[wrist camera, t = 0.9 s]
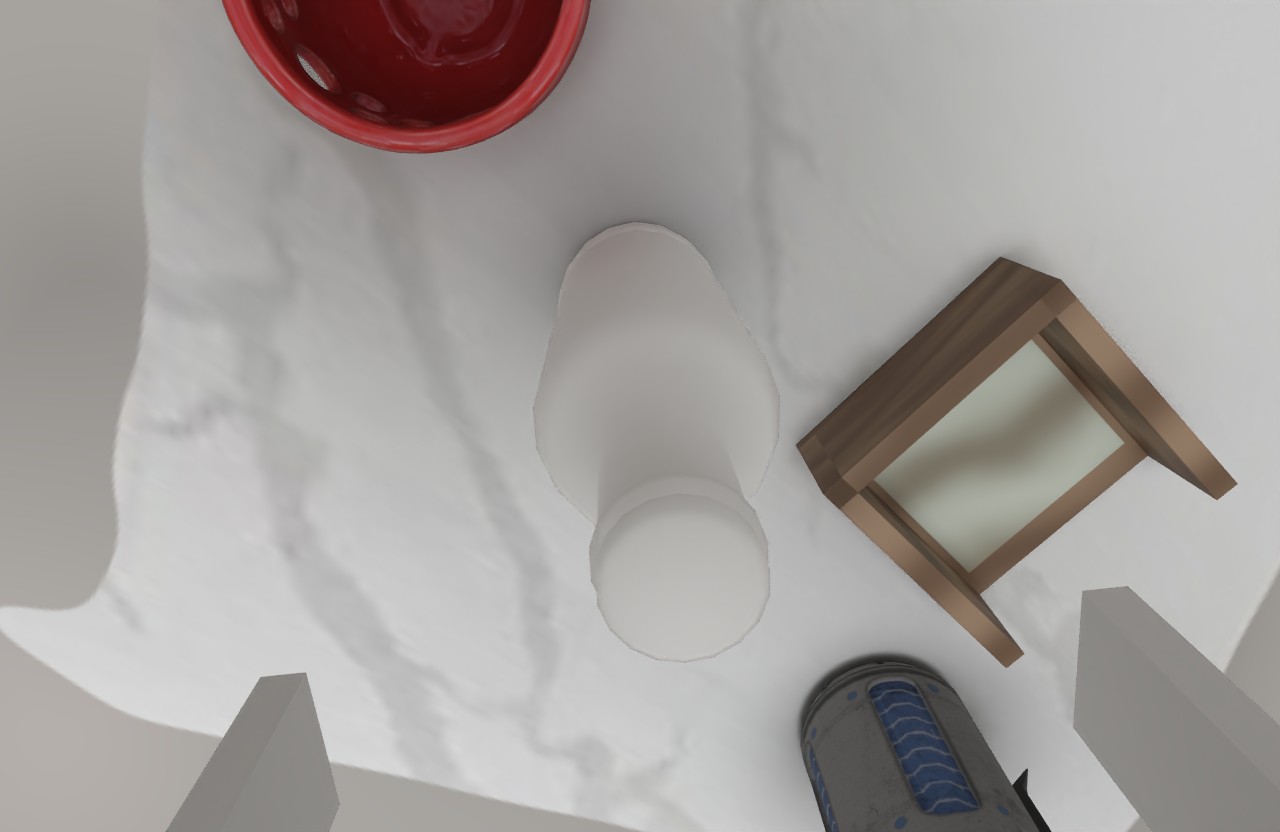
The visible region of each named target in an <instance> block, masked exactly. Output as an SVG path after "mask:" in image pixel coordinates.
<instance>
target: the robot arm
mask: <svg viewBox="0 0 1280 832" xmlns="http://www.w3.org/2000/svg"><path fill="white" fill-rule="evenodd" d="M1073 728H1074V729H1075V730H1076V732H1077V733H1078V734H1079V736H1080V737H1081V738H1082V740H1083V741H1084V742H1085V743H1086V745H1087V746H1088V747H1089V749H1090V750H1091V751H1092V753H1093V754H1094V755H1095V757H1096V758H1097V759H1098V761H1099V762H1100V763H1101V765H1102V766H1103V767H1104V769H1105V770H1106V771H1107V773H1108V774H1109V775H1110V777H1111V778H1112V779H1113V781H1114V782H1115V783H1116V785H1117V786H1118V787H1119V788H1120V790H1121V791H1122V792H1123V794H1124V795H1125V796H1126V798H1127V799H1128V800H1129V802H1130V803H1131V804H1132V806H1133V807H1134V808H1135V810H1136V811H1137V812H1138V814H1139V815H1140V816H1141V818H1142V819H1143V820H1144V822H1145V823H1146V824H1147V826H1148V827H1149V828H1150V830H1151V831H1152V832H1280V725H1279V724H1278V723H1277V722H1276V721H1275V720H1273V719H1272V718H1271V717H1270V716H1269V715H1268V714H1267V713H1266V712H1265V711H1264V710H1262V708H1260V707H1259V706H1258V705H1257V704H1256V703H1255V702H1254V701H1253V700H1252V699H1251V698H1249V697H1248V696H1247V695H1246V694H1245V693H1244V692H1243V691H1242V690H1241V689H1240V688H1239V687H1237V686H1236V685H1235V684H1234V683H1233V682H1232V681H1231V680H1230V679H1229V678H1228V677H1226V676H1225V675H1224V674H1223V673H1222V672H1221V671H1220V670H1219V669H1218V668H1217V667H1216V666H1214V665H1213V664H1212V663H1211V662H1210V661H1209V660H1208V659H1207V658H1206V657H1205V656H1204V655H1202V654H1201V653H1200V652H1199V651H1198V650H1197V649H1196V648H1195V647H1194V646H1193V645H1191V644H1190V643H1189V642H1188V641H1187V640H1186V639H1185V638H1184V637H1183V636H1182V635H1181V634H1179V633H1178V632H1177V631H1176V630H1175V629H1174V628H1173V627H1172V626H1171V625H1170V624H1168V623H1167V622H1166V621H1165V620H1164V619H1163V618H1162V617H1161V616H1160V615H1159V614H1158V613H1156V612H1155V611H1154V610H1153V609H1152V608H1151V607H1150V606H1149V605H1148V604H1147V603H1146V602H1144V601H1143V600H1142V599H1141V598H1140V597H1139V596H1138V595H1137V594H1136V593H1135V592H1133V591H1132V590H1131V589H1130V588H1129V587H1128V586H1125V587H1116V588H1106V589H1097V590H1087V591H1082V604H1081V619H1080V634H1079V648H1078V663H1077V678H1076V692H1075V707H1074V722H1073ZM339 805H340V803H339V799H338V795H337V791H336V787H335V784H334V780H333V776H332V772H331V768H330V764H329V760H328V756H327V752H326V748H325V745H324V741H323V737H322V733H321V729H320V725H319V721H318V717H317V714H316V710H315V706H314V702H313V698H312V694H311V690H310V686H309V682H308V679H307V675H306V673H296V674H286V675H277V676H267V677H260V679H259V681H258V682H257V684H256V686H255V687H254V689H253V690H252V692H251V694H250V695H249V697H248V699H247V700H246V702H245V703H244V705H243V707H242V708H241V710H240V712H239V713H238V715H237V716H236V718H235V720H234V721H233V723H232V725H231V726H230V728H229V729H228V731H227V733H226V734H225V736H224V738H223V739H222V741H221V743H220V744H219V746H218V748H217V749H216V751H215V752H214V754H213V755H212V757H211V759H210V761H209V762H208V764H207V765H206V767H205V768H204V770H203V772H202V773H201V775H200V777H199V778H198V780H197V782H196V783H195V785H194V786H193V788H192V790H191V791H190V793H189V795H188V796H187V798H186V799H185V801H184V803H183V804H182V806H181V808H180V809H179V811H178V812H177V814H176V816H175V817H174V819H173V821H172V822H171V824H170V825H169V827H168V829H167V830H166V832H329V831H330V828H331V825H332V823H333V820H334V818H335V815H336V812H337V810H338V807H339Z"/></svg>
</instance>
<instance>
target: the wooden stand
mask: <svg viewBox="0 0 1280 832" xmlns="http://www.w3.org/2000/svg"><path fill="white" fill-rule="evenodd" d="M796 446H797V448H798V450H799V451H800V453H801V455H802V457H803V459H804V460H805V462H806V464H807V466H808V468H809V469H810V471H811V473H812V475H813V477H814V478H815V480H816V482H817V484H818V486H819V487H820V489H821V491H822V493H823V494H824V495H825V496H826V497H827V498H828V499H829V500H830V501H831V502H832V503H833V504H834V505H835V506H836V507H837V508H838V509H839V510H841V511H842V512H843V513H844V514H845V515H846V516H847V517H848V518H849V519H850V520H851V521H852V522H853V523H854V524H855V525H856V526H857V527H858V528H859V529H861V530H862V531H863V532H864V533H865V534H866V535H867V536H868V537H869V538H870V539H871V540H872V541H873V542H874V543H875V544H876V545H877V546H878V547H879V548H880V549H882V550H883V551H884V552H885V553H886V554H887V555H888V556H889V557H890V558H891V559H892V560H893V561H894V562H895V563H896V564H897V565H898V566H899V567H900V568H901V569H903V570H904V571H905V572H906V573H907V574H908V575H909V576H910V577H911V578H912V579H913V580H914V581H915V582H916V583H917V584H918V585H919V586H920V587H921V588H923V589H924V590H925V591H926V592H927V593H928V594H929V595H930V596H931V597H932V598H933V599H934V600H935V601H936V602H937V603H938V604H939V605H940V606H941V607H942V608H944V609H945V610H946V611H947V612H948V613H949V614H950V615H951V616H952V617H953V618H954V619H955V620H956V621H957V622H958V623H959V624H960V625H961V626H962V627H963V628H965V629H966V630H967V631H968V632H969V633H970V634H971V635H972V636H973V637H974V638H975V639H976V640H977V641H978V642H979V643H980V644H981V645H982V646H983V647H985V648H986V649H987V650H988V651H989V652H990V653H991V654H992V655H993V656H994V657H995V658H996V659H997V660H998V661H999V662H1000V663H1001V664H1002V665H1003V666H1004V667H1006V668H1007V667H1009V666H1010V665H1011V664H1012V663H1014V662H1015V661H1016V660H1017V659H1019V658H1020V657H1021V656H1022V655H1024V653H1023V651H1022V650H1021V649H1020V647H1019V646H1018V645H1017V643H1016V642H1015V641H1014V639H1013V638H1012V637H1011V635H1010V634H1009V633H1008V632H1007V630H1006V629H1005V628H1004V626H1003V625H1002V624H1001V622H1000V621H999V620H998V618H997V617H996V616H995V614H994V613H993V612H992V611H991V609H990V608H989V607H988V605H987V604H986V603H985V601H984V600H983V599H982V597H981V596H980V595H979V594H981V593H982V592H983V591H984V590H985V589H987V588H988V587H989V586H990V585H991V584H993V583H994V582H995V581H996V580H998V579H999V578H1000V577H1001V576H1002V575H1004V574H1005V573H1006V572H1007V571H1008V570H1010V569H1011V568H1012V567H1013V566H1015V565H1016V564H1017V563H1018V562H1019V561H1021V560H1022V559H1023V558H1024V557H1025V556H1027V555H1028V554H1029V553H1030V552H1031V551H1033V550H1034V549H1035V548H1036V547H1038V546H1039V545H1040V544H1041V543H1042V542H1044V541H1045V540H1046V539H1047V538H1048V537H1050V536H1051V535H1052V534H1053V533H1054V532H1056V531H1057V530H1058V529H1059V528H1061V527H1062V526H1063V525H1064V524H1065V523H1067V522H1068V521H1069V520H1070V519H1071V518H1073V517H1074V516H1075V515H1076V514H1077V513H1079V512H1080V511H1081V510H1082V509H1084V508H1085V507H1086V506H1087V505H1088V504H1090V503H1091V502H1092V501H1093V500H1094V499H1096V498H1097V497H1098V496H1099V495H1101V494H1102V493H1103V492H1104V491H1105V490H1107V489H1108V488H1109V487H1110V486H1111V485H1113V484H1114V483H1115V482H1116V481H1117V480H1119V479H1120V478H1121V477H1122V476H1124V475H1125V474H1126V473H1127V472H1128V471H1130V470H1131V469H1132V468H1133V467H1134V466H1136V465H1137V464H1138V463H1139V462H1140V461H1142V460H1143V459H1144V458H1145V457H1147V456H1149V457H1151V458H1153V459H1154V460H1156V461H1157V462H1159V463H1160V464H1162V465H1163V466H1165V467H1167V468H1168V469H1170V470H1171V471H1173V472H1174V473H1176V474H1177V475H1179V476H1180V477H1182V478H1184V479H1185V480H1187V481H1188V482H1190V483H1191V484H1193V485H1194V486H1196V487H1198V488H1199V489H1201V490H1202V491H1204V492H1205V493H1207V494H1208V495H1210V496H1211V497H1213V498H1215V499H1216V500H1218V499H1219V498H1221V497H1222V496H1223V495H1224V494H1226V493H1227V492H1228V491H1229V490H1231V489H1232V488H1233V487H1234V486H1236V485H1237V482H1236V481H1235V480H1234V479H1233V478H1232V477H1231V476H1230V474H1229V473H1228V472H1227V471H1226V470H1225V469H1224V467H1223V466H1222V465H1221V464H1220V463H1219V462H1218V461H1217V459H1216V458H1215V457H1214V456H1213V455H1212V454H1211V452H1210V451H1209V450H1208V449H1207V448H1206V447H1205V445H1204V444H1203V443H1202V442H1201V441H1200V440H1199V439H1198V437H1197V436H1196V435H1195V434H1194V433H1193V432H1192V430H1191V429H1190V428H1189V427H1188V426H1187V425H1186V424H1185V422H1184V421H1183V420H1182V419H1181V418H1180V417H1179V415H1178V414H1177V413H1176V412H1175V411H1174V410H1173V408H1172V407H1171V406H1170V405H1169V404H1168V403H1167V402H1166V400H1165V399H1164V398H1163V397H1162V396H1161V395H1160V393H1159V392H1158V391H1157V390H1156V389H1155V388H1154V386H1153V385H1152V384H1151V383H1150V382H1149V381H1148V380H1147V378H1146V377H1145V376H1144V375H1143V374H1142V373H1141V371H1140V370H1139V369H1138V368H1137V367H1136V366H1135V365H1134V363H1133V362H1132V361H1131V360H1130V359H1129V358H1128V356H1127V355H1126V354H1125V353H1124V352H1123V351H1122V349H1121V348H1120V347H1119V346H1118V345H1117V344H1116V343H1115V341H1114V340H1113V339H1112V338H1111V337H1110V336H1109V334H1108V333H1107V332H1106V331H1105V330H1104V329H1103V328H1102V326H1101V325H1100V324H1099V323H1098V322H1097V321H1096V319H1095V318H1094V317H1093V316H1092V315H1091V314H1090V312H1089V311H1088V310H1087V309H1086V308H1085V307H1084V306H1083V304H1082V303H1081V302H1080V301H1079V300H1078V299H1077V297H1076V296H1075V295H1074V294H1073V293H1072V292H1071V291H1070V289H1069V288H1068V287H1067V286H1066V285H1065V284H1064V282H1063V281H1062V280H1060V279H1058V278H1055V277H1052V276H1050V275H1047V274H1044V273H1042V272H1039V271H1037V270H1034V269H1031V268H1029V267H1026V266H1023V265H1021V264H1018V263H1015V262H1013V261H1010V260H1008V259H1005V258H1002V257H1000V258H999V259H998V260H997V261H995V262H994V263H993V264H992V265H991V266H990V267H989V268H988V269H987V270H986V271H985V272H984V273H982V274H981V275H980V276H979V277H978V278H977V279H976V280H975V281H974V282H973V283H972V284H971V285H969V286H968V287H967V288H966V289H965V290H964V291H963V292H962V293H961V294H960V295H959V296H957V297H956V298H955V299H954V300H953V301H952V302H951V303H950V304H949V305H948V306H947V307H946V308H944V309H943V310H942V311H941V312H940V313H939V314H938V315H937V316H936V317H935V318H934V319H933V320H931V321H930V322H929V323H928V324H927V325H926V326H925V327H924V328H923V329H922V330H921V331H920V332H918V333H917V334H916V335H915V336H914V337H913V338H912V339H911V340H910V341H909V342H908V343H906V344H905V345H904V346H903V347H902V348H901V349H900V350H899V351H898V352H897V353H896V354H895V355H893V356H892V357H891V358H890V359H889V360H888V361H887V362H886V363H885V364H884V365H883V366H882V367H880V368H879V369H878V370H877V371H876V372H875V373H874V374H873V375H872V376H871V377H870V378H868V379H867V380H866V381H865V382H864V383H863V384H862V385H861V386H860V387H859V388H858V389H857V390H855V391H854V392H853V393H852V394H851V395H850V396H849V397H848V398H847V399H846V400H845V401H844V402H842V403H841V404H840V405H839V406H838V407H837V408H836V409H835V410H834V411H833V412H832V413H830V414H829V415H828V416H827V417H826V418H825V419H824V420H823V421H822V422H821V423H820V424H819V425H817V426H816V427H815V428H814V429H813V430H812V431H811V432H810V433H809V434H808V435H807V436H806V437H804V438H803V439H802V440H801V441H800V442H799V443H798V444H797V445H796Z"/></svg>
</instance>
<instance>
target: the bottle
mask: <svg viewBox="0 0 1280 832" xmlns="http://www.w3.org/2000/svg"><path fill="white" fill-rule="evenodd" d="M558 304H559V306H558V310H557V314H556V318H555V322H554V326H553V330H552V334H551V338H550V342H549V346H548V350H547V354H546V358H545V362H544V366H543V370H542V374H541V378H540V382H539V386H538V391H537V395H536V399H535V403H534V407H533V412H534V424H535V436H536V447H537V450H538V453H539V455H540V457H541V459H542V461H543V463H544V465H545V467H546V469H547V471H548V473H549V475H550V477H551V479H552V481H553V483H554V485H555V487H556V488H557V489H558V491H559V492H560V493H561V494H562V495H563V496H564V497H565V498H566V499H567V500H568V501H569V502H570V503H571V504H572V505H573V506H574V507H575V508H576V509H577V510H578V511H579V512H580V513H582V514H583V515H584V516H585V517H586V518H587V519H588V520H589V521H590V522H591V523H592V524H593V525H595V526H596V528H595V531H594V534H593V537H592V540H591V543H590V549H589V556H590V571H591V582H592V584H593V586H594V588H595V590H596V592H597V604H598V607H599V609H600V611H601V613H602V615H603V617H604V619H605V622H606V624H607V626H608V628H609V630H610V631H611V632H613V633H614V634H615V635H616V636H617V637H618V638H619V639H620V640H621V641H622V642H623V643H625V644H626V645H627V646H628V647H629V648H630V649H632V650H635V651H637V652H639V653H642V654H644V655H646V656H649V657H651V658H653V659H656V660H664V661H674V662H685V663H686V662H691V661H695V660H700V659H705V658H710V657H715V656H716V655H718V654H720V653H722V652H724V651H725V650H727V649H729V648H731V647H733V646H734V645H736V644H738V643H740V642H741V641H742V640H743V639H744V637H745V636H746V635H747V634H748V633H749V632H750V631H751V630H752V629H753V628H754V626H755V625H756V624H757V623H758V622H759V620H760V618H761V616H762V613H763V611H764V608H765V606H766V603H767V601H768V598H769V591H770V569H769V566H768V542H767V539H766V536H765V534H764V531H763V529H762V526H761V524H760V521H759V519H758V517H757V514H756V512H755V510H754V509H753V508H752V507H751V506H750V505H749V504H748V500H749V499H750V498H751V497H752V496H753V495H754V493H755V492H756V491H757V489H758V488H759V486H760V485H761V483H762V481H763V478H764V475H765V473H766V470H767V468H768V465H769V462H770V460H771V457H772V455H773V452H774V450H775V447H776V444H777V441H778V438H779V393H778V390H777V388H776V385H775V382H774V380H773V377H772V374H771V372H770V369H769V367H768V364H767V361H766V359H765V356H764V355H763V353H762V352H761V350H760V348H759V347H758V345H757V344H756V342H755V340H754V339H753V337H752V336H751V334H750V332H749V331H748V329H747V328H746V326H745V324H744V323H743V321H742V320H741V318H740V317H739V315H738V313H737V312H736V310H735V309H734V307H733V305H732V304H731V302H730V301H729V299H728V297H727V296H726V294H725V293H724V291H723V289H722V288H721V286H720V285H719V283H718V281H717V280H716V278H715V277H714V275H713V273H712V270H711V267H710V265H709V263H708V262H707V260H706V259H705V258H704V257H703V256H702V255H701V254H700V253H699V252H698V250H697V249H696V248H695V247H694V246H693V245H692V244H691V243H690V241H689V240H687V239H686V238H684V237H683V236H681V235H679V234H677V233H675V232H673V231H671V230H669V229H667V228H666V227H664V226H662V225H656V224H648V223H640V222H631V223H627V224H623V225H618V226H614V227H609V228H607V229H606V230H604V231H603V232H601V233H600V234H598V235H596V236H595V237H593V238H592V239H590V240H589V241H587V242H586V243H585V244H584V246H583V247H582V248H581V250H580V251H579V252H578V254H577V255H576V256H575V258H574V259H573V261H572V262H571V263H570V265H569V266H568V268H567V269H566V273H565V276H564V280H563V283H562V287H561V290H560V293H559V297H558Z"/></svg>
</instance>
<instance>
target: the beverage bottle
mask: <svg viewBox="0 0 1280 832" xmlns="http://www.w3.org/2000/svg"><path fill="white" fill-rule="evenodd" d="M801 750H802V756H803V760H804V763H805V767H806V770H807V773H808V776H809V778H810V781H811V784H812V787H813V791H814V794H815V797H816V801H817V804H818V807H819V811H820V814H821V817H822V821H823V824H824V827H825V830H826V832H1051V830H1050V829H1049V827H1048V825H1047V824H1046V822H1045V821H1044V819H1043V818H1042V816H1041V814H1040V813H1039V811H1038V810H1037V808H1036V807H1035V805H1034V804H1033V802H1032V800H1031V799H1030V797H1029V796H1028V792H1027V776H1028V769H1026V770H1025V771H1024V772H1023V773H1022V774H1021V776H1020V777H1019V778H1018V779H1017V780H1016V782H1015V783H1014V784H1013V785H1011V783H1010V781H1009V780H1008V778H1007V776H1006V775H1005V773H1004V771H1003V770H1002V768H1001V766H1000V765H999V763H998V761H997V760H996V758H995V756H994V755H993V753H992V751H991V750H990V748H989V746H988V745H987V743H986V741H985V739H984V738H983V736H982V734H981V733H980V731H979V729H978V728H977V726H976V724H975V723H974V721H973V719H972V718H971V716H970V714H969V713H968V711H967V709H966V708H965V706H964V704H963V703H962V701H961V699H960V698H959V696H958V695H957V693H956V692H955V690H954V689H953V688H952V687H951V686H950V685H949V684H948V683H947V682H946V681H945V680H943V679H942V678H940V677H938V676H937V675H935V674H933V673H932V672H929V671H926V670H924V669H921V668H918V667H915V666H912V665H909V664H904V663H898V662H882V664H877V663H871V664H866V665H862V666H860V667H857V668H854V669H851V670H849V671H847V672H845V673H844V674H842V675H840V676H838V677H837V678H835V679H834V680H833V681H832V682H830V683H829V684H828V686H827V688H826V689H823V690H822V691H821V692H820V694H819V695H818V696H817V697H816V699H815V701H814V702H813V704H812V706H811V708H810V710H809V712H808V714H807V716H806V718H805V721H804V725H803V728H802V732H801Z"/></svg>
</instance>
